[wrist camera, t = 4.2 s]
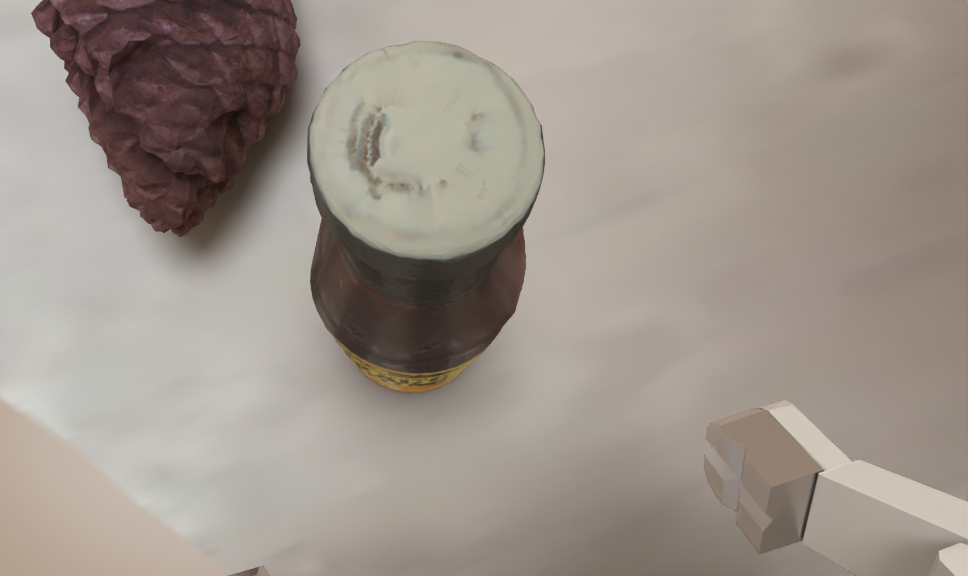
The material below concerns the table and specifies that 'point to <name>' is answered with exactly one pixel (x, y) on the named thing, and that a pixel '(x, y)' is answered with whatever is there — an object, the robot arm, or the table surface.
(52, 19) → the pine cone
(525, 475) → the table surface
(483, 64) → the sauce bottle
